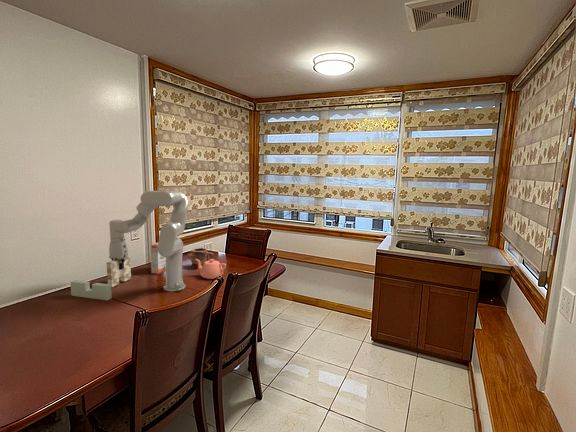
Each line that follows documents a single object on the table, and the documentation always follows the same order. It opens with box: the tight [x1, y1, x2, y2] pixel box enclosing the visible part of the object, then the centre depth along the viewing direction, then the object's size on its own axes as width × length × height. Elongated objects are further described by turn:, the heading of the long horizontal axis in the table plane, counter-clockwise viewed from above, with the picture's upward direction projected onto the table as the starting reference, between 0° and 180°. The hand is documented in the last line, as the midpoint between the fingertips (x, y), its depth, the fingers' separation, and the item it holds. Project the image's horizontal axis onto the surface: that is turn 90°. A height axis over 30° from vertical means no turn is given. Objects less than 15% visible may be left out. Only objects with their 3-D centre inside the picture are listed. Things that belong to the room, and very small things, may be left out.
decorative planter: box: [187, 247, 215, 270], centre depth 228 cm, size 20×12×14 cm, turn 92°
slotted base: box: [70, 279, 113, 301], centre depth 169 cm, size 24×3×8 cm, turn 78°
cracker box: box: [150, 241, 166, 275], centre depth 216 cm, size 14×6×21 cm, turn 168°
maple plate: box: [105, 255, 132, 288], centre depth 190 cm, size 16×3×15 cm, turn 168°
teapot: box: [196, 258, 227, 280], centre depth 208 cm, size 22×15×12 cm
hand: (119, 268), depth 189 cm, fingers closed on maple plate, 3 cm apart
